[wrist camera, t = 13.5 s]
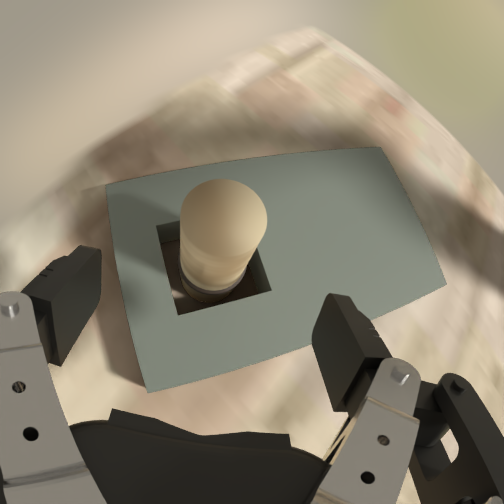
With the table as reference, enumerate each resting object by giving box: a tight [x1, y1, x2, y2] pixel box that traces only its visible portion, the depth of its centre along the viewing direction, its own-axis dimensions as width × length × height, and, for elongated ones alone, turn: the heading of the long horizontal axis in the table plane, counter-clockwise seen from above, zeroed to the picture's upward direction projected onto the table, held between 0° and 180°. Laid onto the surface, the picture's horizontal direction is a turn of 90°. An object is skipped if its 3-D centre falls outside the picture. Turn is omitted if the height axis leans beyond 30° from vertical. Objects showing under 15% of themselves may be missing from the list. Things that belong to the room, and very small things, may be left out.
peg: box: [178, 179, 267, 303], centre depth 19 cm, size 4×4×9 cm
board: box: [106, 147, 447, 393], centre depth 23 cm, size 24×14×3 cm, turn 108°
